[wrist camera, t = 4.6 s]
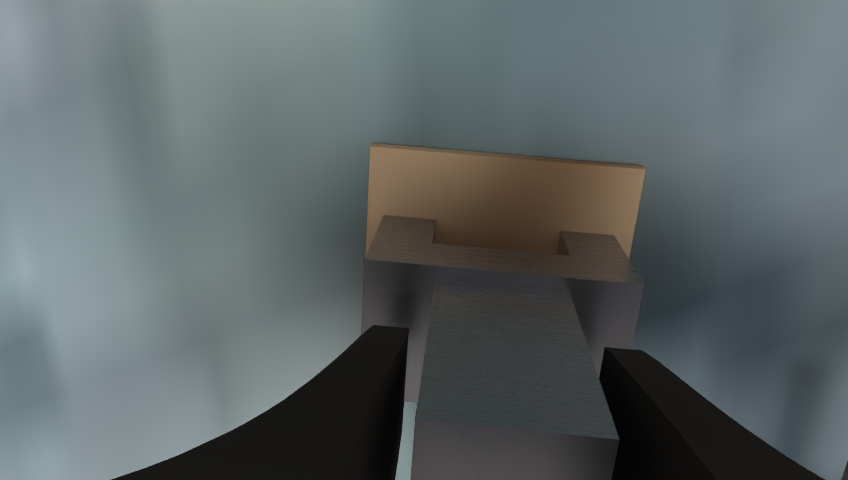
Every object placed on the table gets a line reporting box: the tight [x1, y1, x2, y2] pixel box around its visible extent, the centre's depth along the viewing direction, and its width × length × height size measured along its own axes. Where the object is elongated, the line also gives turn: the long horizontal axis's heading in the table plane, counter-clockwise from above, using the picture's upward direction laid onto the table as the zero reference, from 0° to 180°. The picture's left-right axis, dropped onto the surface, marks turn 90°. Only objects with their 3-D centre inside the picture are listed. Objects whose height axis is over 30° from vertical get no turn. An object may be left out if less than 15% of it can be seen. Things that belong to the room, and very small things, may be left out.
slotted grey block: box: [361, 215, 645, 480], centre depth 12 cm, size 3×5×7 cm, turn 86°
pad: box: [366, 143, 646, 258], centre depth 16 cm, size 6×6×1 cm
